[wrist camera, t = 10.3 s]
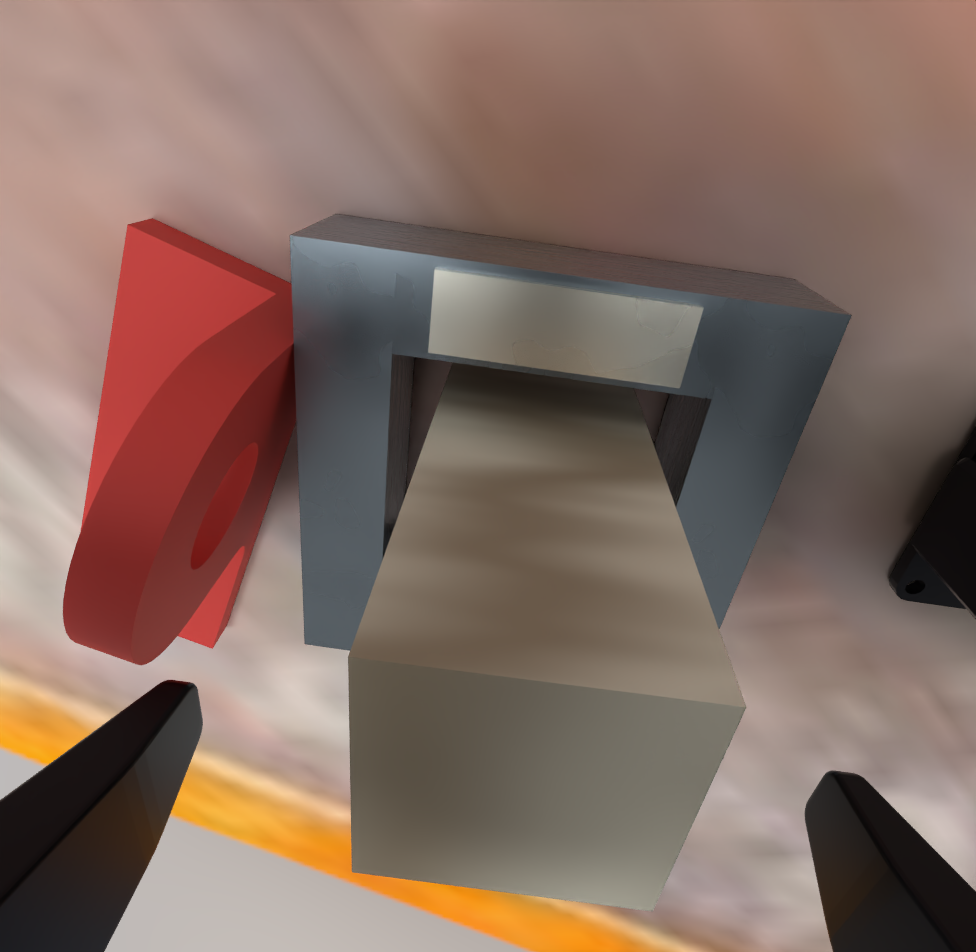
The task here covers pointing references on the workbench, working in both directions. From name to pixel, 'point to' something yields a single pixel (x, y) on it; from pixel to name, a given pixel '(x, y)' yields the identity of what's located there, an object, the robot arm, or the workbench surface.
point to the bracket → (181, 445)
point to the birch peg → (536, 655)
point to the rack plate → (544, 351)
